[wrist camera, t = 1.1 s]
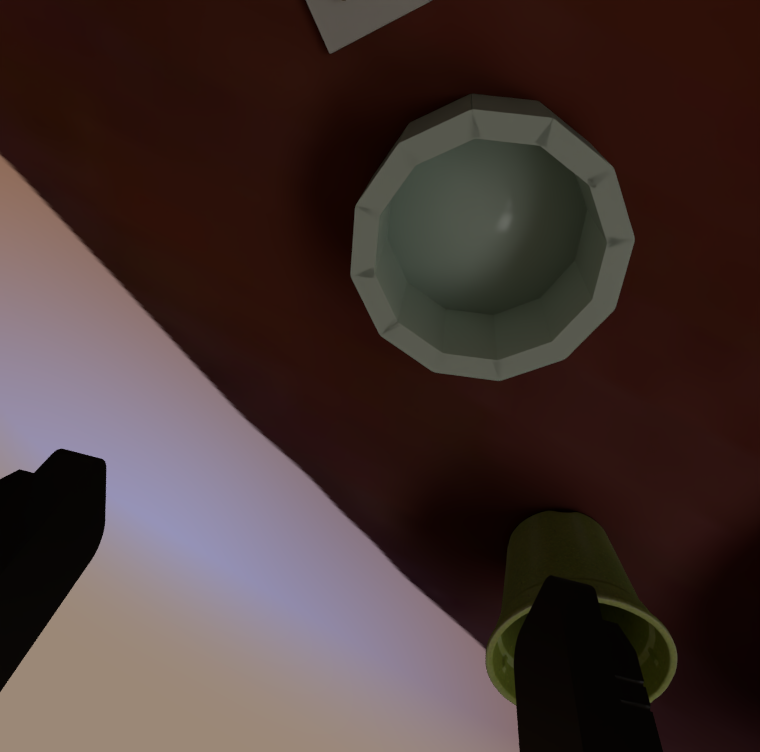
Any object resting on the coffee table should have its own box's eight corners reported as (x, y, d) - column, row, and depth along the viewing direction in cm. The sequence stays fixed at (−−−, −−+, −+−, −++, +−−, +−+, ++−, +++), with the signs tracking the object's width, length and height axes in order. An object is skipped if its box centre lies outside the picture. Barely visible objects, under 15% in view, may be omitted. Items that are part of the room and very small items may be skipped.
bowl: (560, 50, 28) (581, 57, 23) (629, 277, 32) (661, 327, 27) (332, 158, 31) (305, 186, 26) (423, 351, 36) (416, 408, 30)
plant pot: (566, 457, 38) (591, 567, 30) (670, 549, 40) (717, 673, 33) (451, 540, 42) (447, 656, 34) (551, 620, 44) (568, 745, 37)
